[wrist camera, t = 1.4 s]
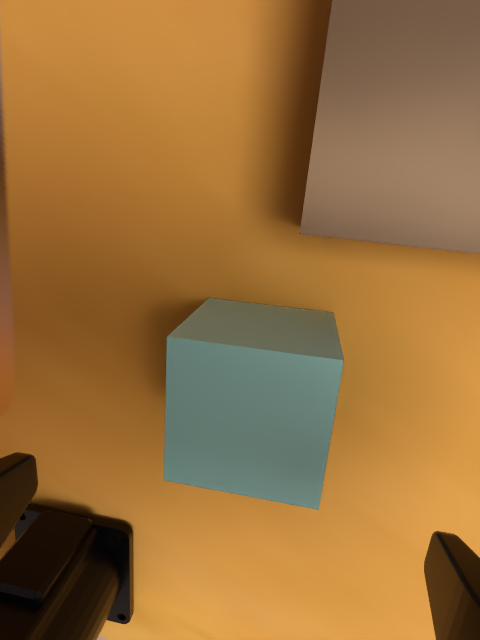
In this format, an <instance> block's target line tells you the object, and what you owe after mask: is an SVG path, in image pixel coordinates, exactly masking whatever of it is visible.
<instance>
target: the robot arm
mask: <svg viewBox="0 0 480 640" xmlns="http://www.w3.org/2000/svg"><path fill="white" fill-rule="evenodd" d="M37 486H38V478H37V467H36V459H35V457H34V456H33V455H31V454H25V453H19V452H17V453H13V454H11V455H8V456H6V457H3V458H1V459H0V548H1V546H2V545H3V543H4V542H5V540H6V538H7V537H8V535H9V534H10V532H11V531H12V529H13V528H15V536H16V542H15V543H14V544H13V545H12V546H11V548H10V549H9V550H8V551H7V552H6V553H5V554H4V556H3V557H2V558H1V559H0V640H97V638H98V636H99V634H100V632H101V630H102V628H103V626H104V624H105V622H106V620H109V621H113V622H117V623H121V624H127V623H129V622H130V619H131V617H132V615H133V532H132V529H131V528H130V527H129V526H128V525H126V524H123V523H118V522H114V521H109V520H104V519H99V518H94V517H90V516H85V515H80V514H75V513H71V512H66V511H61V510H56V509H52V508H47V507H42V506H37V505H33V504H29V503H30V501H31V500H32V498H33V496H34V495H35V493H36V490H37ZM424 573H425V579H426V585H427V591H428V596H429V602H430V608H431V613H432V619H433V625H434V630H435V636H436V640H480V558H479V557H478V556H477V555H476V554H475V553H474V552H473V551H472V550H471V549H470V548H469V547H468V546H467V545H466V544H465V543H464V542H463V541H462V540H461V539H460V538H459V537H458V536H457V535H455V534H451V533H446V532H440V531H436V532H434V533H433V534H432V537H431V540H430V544H429V547H428V551H427V554H426V558H425V562H424Z"/></svg>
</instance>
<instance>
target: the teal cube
mask: <svg viewBox="0 0 480 640" xmlns="http://www.w3.org/2000/svg"><path fill="white" fill-rule="evenodd" d="M343 363H344V359H343V354H342V350H341V345H340V340H339V336H338V331H337V327H336V322H335V317H334V313H333V312H325V311H316V310H308V309H299V308H291V307H283V306H274V305H266V304H257V303H249V302H240V301H232V300H223V299H215V298H208V299H207V300H206V301H205V302H204V303H203V304H202V305H201V306H200V307H199V308H197V309H196V310H195V311H194V312H193V313H192V314H191V315H190V316H189V317H188V318H187V319H185V320H184V321H183V322H182V323H181V324H180V325H179V326H178V327H177V328H176V329H175V330H173V331H172V332H171V333H170V334H169V335H168V336H167V355H166V401H165V448H164V480H165V481H170V482H175V483H180V484H186V485H191V486H196V487H201V488H207V489H212V490H217V491H223V492H228V493H233V494H238V495H244V496H249V497H254V498H259V499H265V500H270V501H275V502H280V503H286V504H291V505H296V506H301V507H307V508H312V509H317V510H319V504H320V498H321V492H322V487H323V481H324V475H325V469H326V463H327V457H328V451H329V445H330V439H331V433H332V428H333V422H334V416H335V410H336V404H337V398H338V392H339V386H340V380H341V374H342V369H343Z"/></svg>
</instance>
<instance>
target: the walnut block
mask: <svg viewBox="0 0 480 640" xmlns="http://www.w3.org/2000/svg"><path fill="white" fill-rule="evenodd" d="M300 234H306V235H315V236H324V237H333V238H342V239H351V240H359V241H368V242H377V243H386V244H395V245H404V246H413V247H422V248H431V249H440V250H449V251H458V252H467V253H476V254H480V0H332V6H331V13H330V20H329V27H328V34H327V41H326V49H325V56H324V63H323V70H322V77H321V84H320V91H319V99H318V106H317V113H316V120H315V127H314V134H313V141H312V149H311V156H310V163H309V170H308V177H307V184H306V191H305V199H304V206H303V213H302V220H301V227H300Z"/></svg>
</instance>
